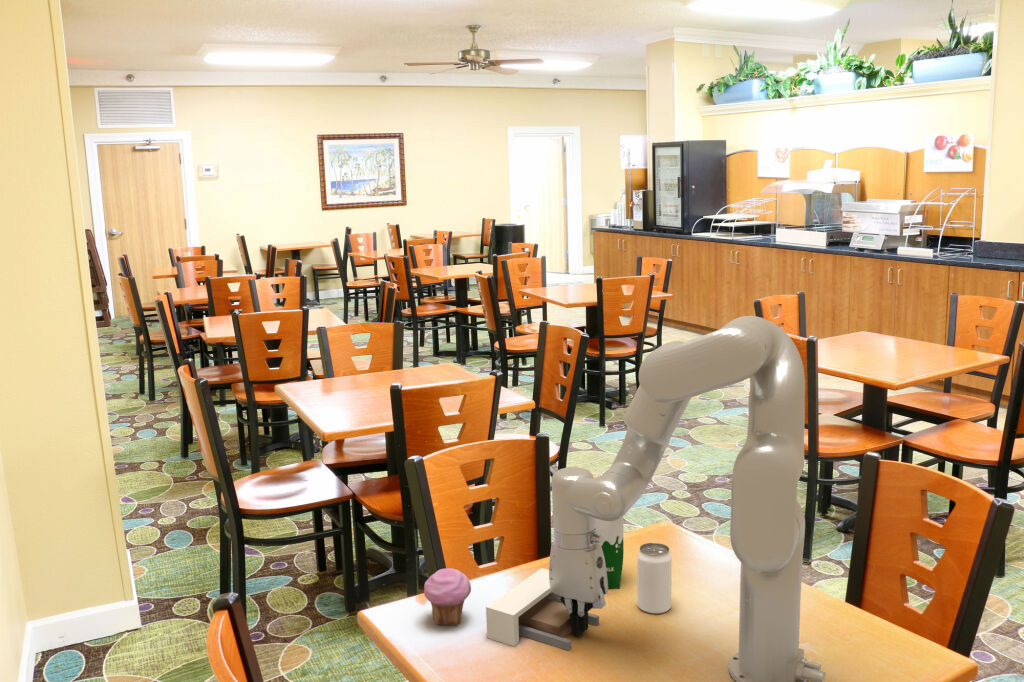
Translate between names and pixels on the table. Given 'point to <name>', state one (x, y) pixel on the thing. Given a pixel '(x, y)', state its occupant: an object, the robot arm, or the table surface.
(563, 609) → the walnut tile
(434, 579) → the cupcake
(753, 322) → the robot arm
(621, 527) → the milk carton
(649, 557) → the can
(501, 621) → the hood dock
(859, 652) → the table surface
